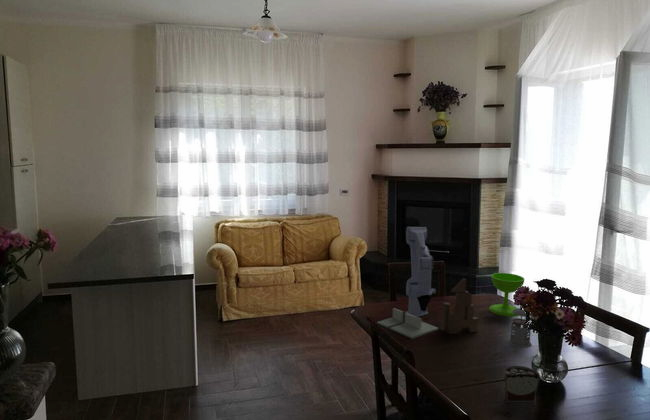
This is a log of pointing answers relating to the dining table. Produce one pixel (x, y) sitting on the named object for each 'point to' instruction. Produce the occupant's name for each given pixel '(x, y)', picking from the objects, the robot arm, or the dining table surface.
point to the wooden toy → (459, 311)
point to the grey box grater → (520, 331)
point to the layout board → (407, 328)
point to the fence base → (399, 315)
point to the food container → (520, 384)
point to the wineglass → (507, 285)
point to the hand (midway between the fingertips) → (423, 310)
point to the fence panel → (413, 320)
